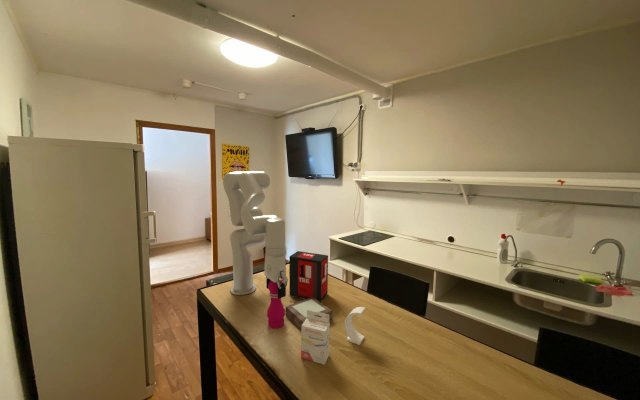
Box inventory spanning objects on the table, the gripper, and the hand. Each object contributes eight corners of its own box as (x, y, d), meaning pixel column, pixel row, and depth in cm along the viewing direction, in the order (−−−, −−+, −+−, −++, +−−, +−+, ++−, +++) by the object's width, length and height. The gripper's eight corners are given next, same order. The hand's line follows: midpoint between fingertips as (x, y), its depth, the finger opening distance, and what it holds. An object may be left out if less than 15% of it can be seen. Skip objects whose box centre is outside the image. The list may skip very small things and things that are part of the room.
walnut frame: (285, 315, 109) (285, 305, 108) (312, 305, 117) (312, 296, 117) (303, 332, 98) (303, 321, 97) (332, 319, 106) (332, 309, 106)
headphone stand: (359, 345, 91) (360, 313, 89) (344, 339, 94) (344, 308, 93) (364, 338, 95) (365, 307, 93) (349, 332, 98) (350, 302, 96)
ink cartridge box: (300, 358, 84) (300, 316, 82) (306, 348, 89) (306, 308, 87) (325, 365, 81) (325, 322, 80) (329, 355, 86) (330, 313, 84)
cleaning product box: (327, 294, 128) (328, 255, 125) (320, 302, 120) (321, 261, 117) (297, 288, 134) (297, 251, 132) (289, 295, 126) (289, 256, 123)
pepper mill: (281, 330, 99) (281, 280, 96) (263, 328, 100) (263, 279, 98) (287, 319, 106) (287, 273, 103) (271, 317, 107) (270, 271, 105)
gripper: (257, 246, 104) (257, 286, 106) (277, 258, 90) (277, 304, 92) (274, 243, 108) (274, 282, 110) (295, 254, 95) (295, 298, 97)
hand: (275, 292), depth 101 cm, fingers open, 9 cm apart
